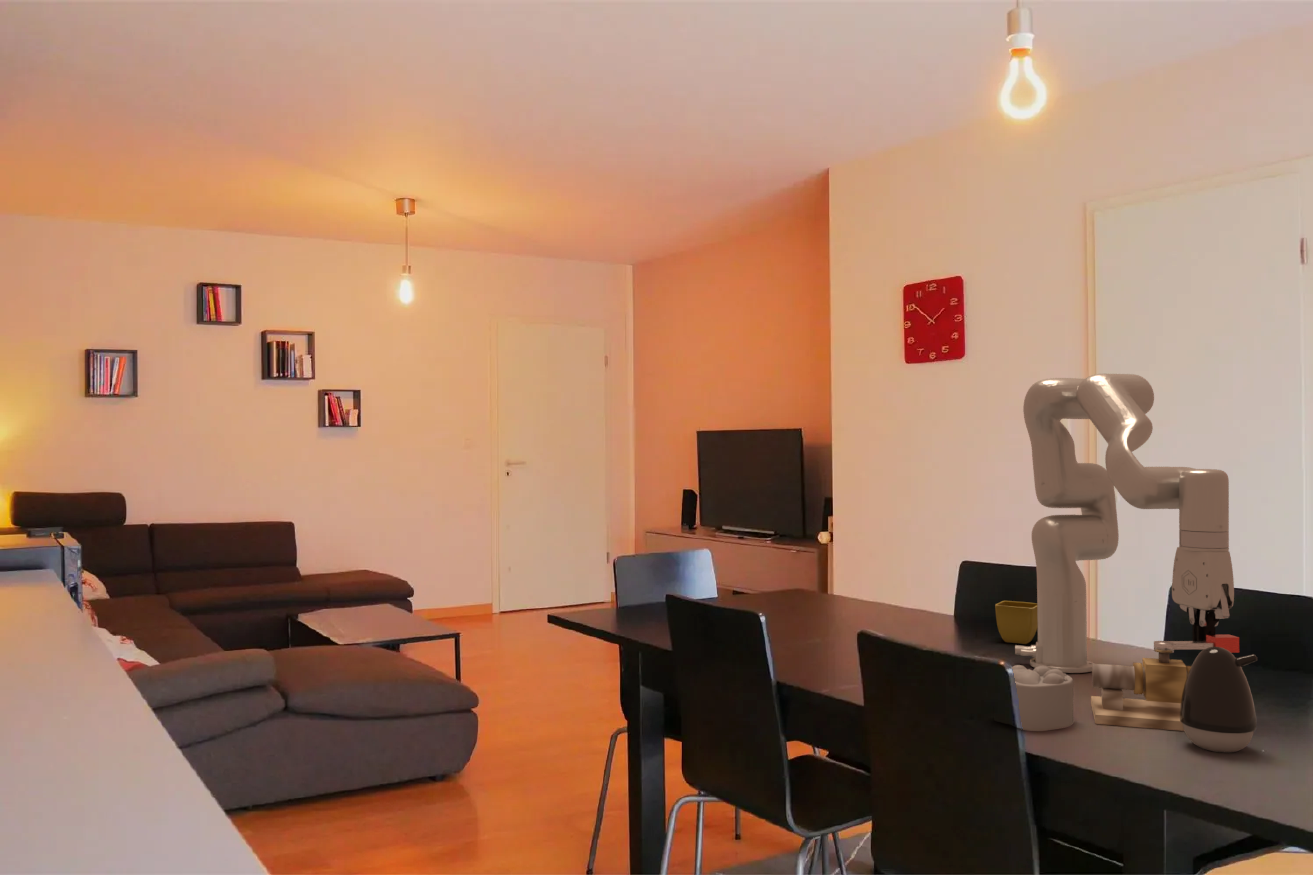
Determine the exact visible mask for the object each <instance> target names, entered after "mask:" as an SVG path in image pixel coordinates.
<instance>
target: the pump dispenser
mask: <svg viewBox="0 0 1313 875" xmlns="http://www.w3.org/2000/svg"><path fill="white" fill-rule="evenodd" d="M1257 661H1258V657H1257V656H1256V654H1254V653H1252V654H1249V655H1248V654H1247V655H1244V656H1240V657H1235V655H1234V654H1233V653H1231V652H1230V651H1228V650H1226V649H1224V648H1221V647H1209V648H1206V649H1204V650H1201V651H1200V652H1199V653H1198V655H1197V656H1196V657H1195V659H1194V661H1193V663H1192V664H1191V665H1190V666H1191V668H1190V671H1189V673H1188V676H1187V678H1186V681H1185V685H1184V688H1183V693H1182V698H1181V706H1180V721H1181V722H1182V724H1183V728H1184V731H1183V732H1184V733H1185V735H1186V736H1187V738H1188V739H1189V740H1190V741H1191V742H1192V743H1193V744H1194V745H1196V746H1197V747H1199V748H1200V749H1203V750H1206V751H1210V752H1214V753H1215V752H1216V753H1228V754H1229V753H1235V752H1238V751H1241V750H1243V749H1245V748H1247V746H1248V745H1249V744H1250V742H1251V740H1252V738H1253V736H1254V733H1255V731H1256V730H1257V716H1256V708H1255V703H1254V698H1253V695H1252V692H1251V691H1252V690H1251V688H1250V685H1249V681H1248V679H1247V676H1246V675H1245V672H1244V670H1243V667H1245V666H1248V665H1250V664H1253V663H1255V662H1257Z"/></svg>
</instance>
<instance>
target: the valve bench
mask: <svg viewBox="0 0 1313 875" xmlns="http://www.w3.org/2000/svg"><path fill="white" fill-rule="evenodd" d="M1191 666H1192V665H1186V664H1185V663H1184V661H1183V660H1182V659H1170V653H1159V652H1158V658H1154V657H1153V658H1151V657H1142V662H1133V663H1132V665H1120V664H1105V663H1104V664H1103V663H1094V664H1092V671H1091V676H1092V678H1091V680H1092V688H1093V689H1094V688H1096V689H1101V695H1099V696H1098V695H1096V696H1095V695H1090V706H1091V710H1092V715H1093V719H1094V724H1096V725H1107V726H1118V727H1119V726H1120V727H1130V728H1143V729H1144V728H1145V729H1155V730H1168V731H1169V730H1170V731H1180V732H1185V731H1184V728H1183V724H1182V722H1181V721H1180V706H1181V698H1182V693H1183V688H1184V685H1185V681H1186V678H1187V676H1188V673H1189V671H1190V668H1191ZM1124 690H1125V691H1133V694H1134V695H1141V696H1142V695H1143V696H1144V699H1139V698H1126V697H1125V698H1124V692H1123V691H1124Z"/></svg>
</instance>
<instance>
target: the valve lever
mask: <svg viewBox="0 0 1313 875" xmlns="http://www.w3.org/2000/svg"><path fill="white" fill-rule="evenodd" d="M1209 647H1221V648H1224V649H1226V650H1228V651H1230V652H1231V653H1232V654H1233V653H1240V637H1239V636H1236V635H1233V634H1232V635H1231V634H1215V635H1206V641H1192V640H1184V641H1183V640H1179V641H1178V640H1176V641H1175V640H1170V641H1169V640H1168V641H1167V640H1154V641H1153V651H1154V652H1156V653H1158V654H1159V653H1169V654H1173V653H1175V650H1200V649H1206V648H1209Z"/></svg>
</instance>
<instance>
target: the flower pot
mask: <svg viewBox="0 0 1313 875" xmlns="http://www.w3.org/2000/svg"><path fill="white" fill-rule="evenodd" d="M994 606H995V607H994V608H995V619H996V625H997V630H998V632H999V635H1000V637H1001V639H1002V640H1003V641H1004V642H1005V643H1013V644H1022V645H1028V644H1029V643H1030V642H1031V641H1032V640H1033V639H1034V637H1035V635H1036V632H1038V620H1037V603H1035V602H1026V601H1015V600H1013V601H1012V600H1002V601H1000V602H998V603H995V605H994Z"/></svg>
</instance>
